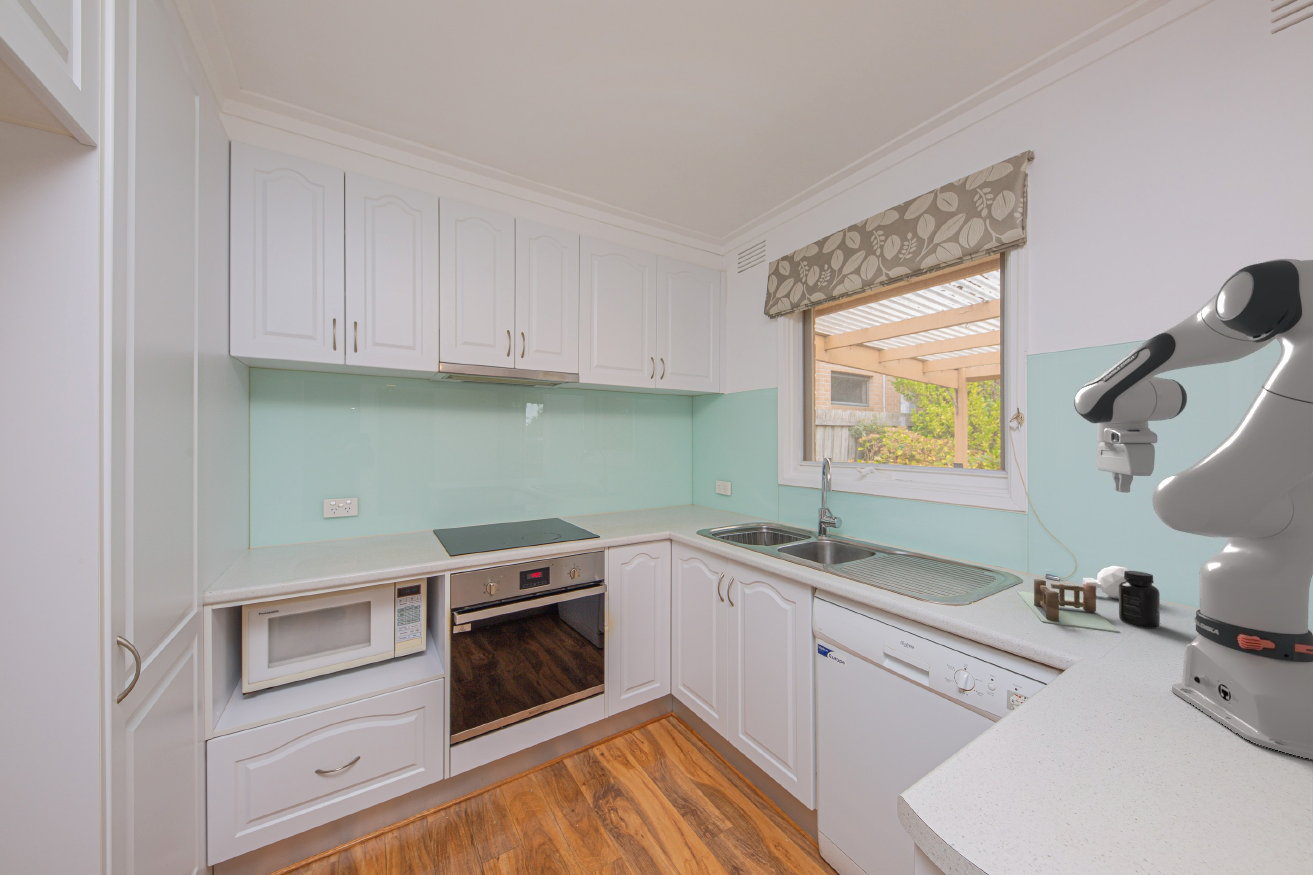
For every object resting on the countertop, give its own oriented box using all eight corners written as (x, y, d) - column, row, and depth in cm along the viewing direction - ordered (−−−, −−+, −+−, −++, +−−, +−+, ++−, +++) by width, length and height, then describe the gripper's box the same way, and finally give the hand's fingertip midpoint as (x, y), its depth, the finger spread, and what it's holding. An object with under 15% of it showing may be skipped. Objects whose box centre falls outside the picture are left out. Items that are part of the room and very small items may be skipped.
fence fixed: (1033, 604, 123) (1032, 578, 123) (1044, 606, 122) (1044, 579, 122) (1047, 621, 112) (1047, 592, 112) (1060, 623, 111) (1060, 594, 111)
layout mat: (1119, 632, 105) (1119, 630, 105) (1041, 622, 112) (1041, 620, 112) (1079, 599, 127) (1079, 597, 127) (1016, 592, 133) (1016, 590, 133)
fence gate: (1053, 607, 119) (1053, 582, 119) (1050, 603, 121) (1049, 580, 121) (1097, 612, 116) (1097, 587, 116) (1093, 608, 118) (1093, 584, 118)
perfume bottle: (1132, 587, 131) (1078, 587, 135) (1132, 559, 128) (1077, 560, 133) (1150, 607, 123) (1092, 606, 128) (1150, 577, 121) (1091, 577, 126)
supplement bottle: (1168, 630, 107) (1168, 578, 107) (1133, 627, 108) (1133, 576, 108) (1143, 618, 113) (1143, 569, 113) (1111, 616, 115) (1110, 568, 115)
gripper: (1088, 435, 124) (1089, 487, 124) (1123, 435, 106) (1124, 496, 106) (1120, 435, 121) (1120, 488, 121) (1161, 435, 103) (1162, 497, 103)
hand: (1122, 491), depth 113 cm, fingers closed
